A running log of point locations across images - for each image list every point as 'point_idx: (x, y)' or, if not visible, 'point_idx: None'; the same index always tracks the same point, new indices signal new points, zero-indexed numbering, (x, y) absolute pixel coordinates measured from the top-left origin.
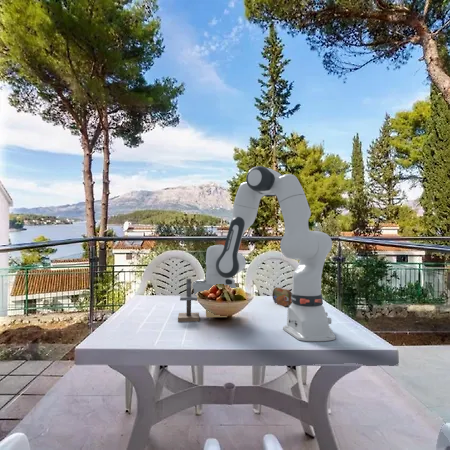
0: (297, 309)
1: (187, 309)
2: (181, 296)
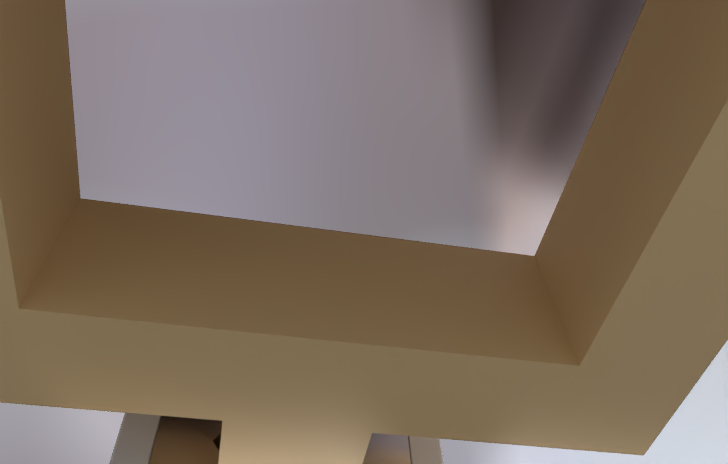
0: None
1: None
2: None
